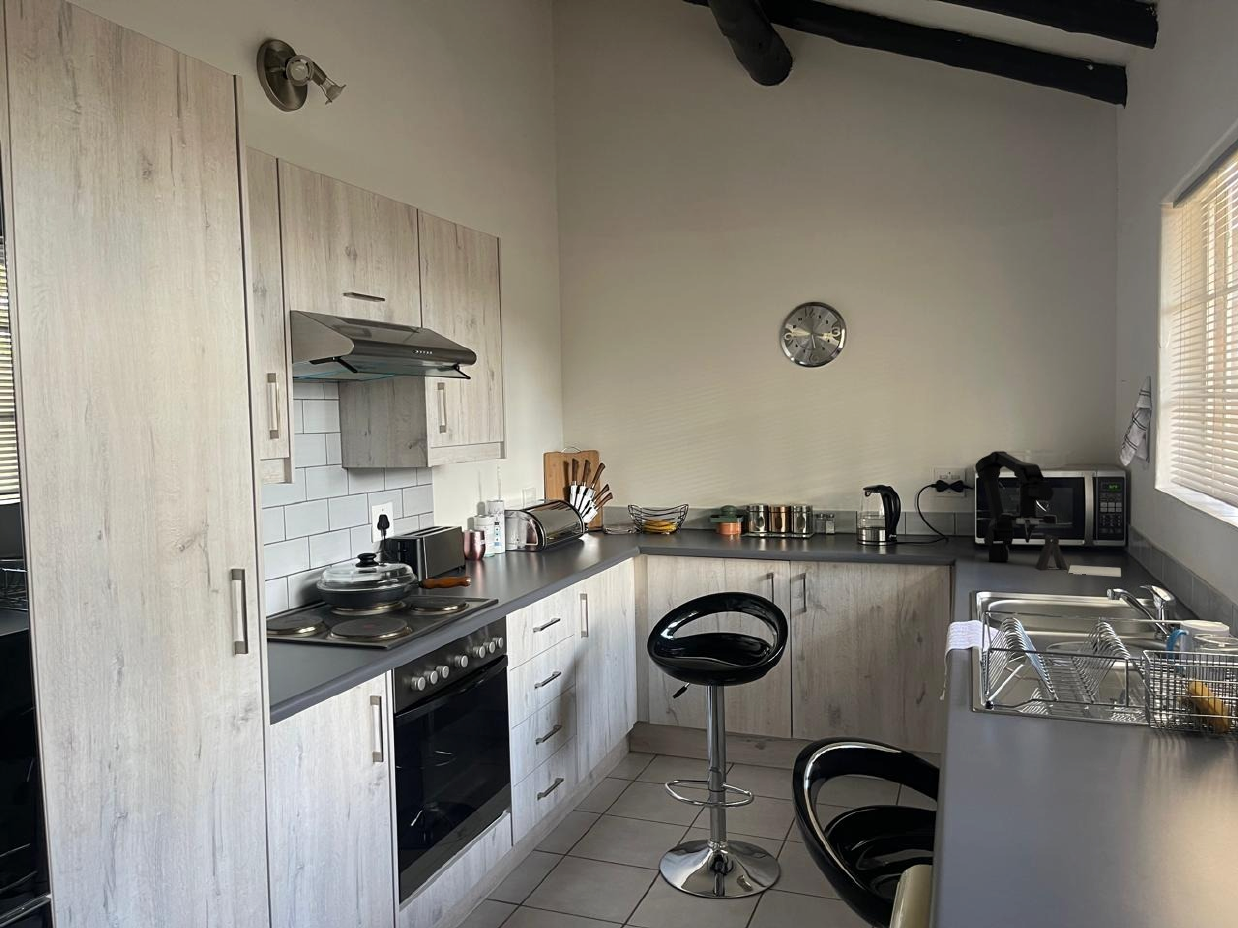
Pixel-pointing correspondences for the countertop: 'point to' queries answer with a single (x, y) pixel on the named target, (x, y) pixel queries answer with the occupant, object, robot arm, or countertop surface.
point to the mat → (1095, 570)
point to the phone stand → (1046, 553)
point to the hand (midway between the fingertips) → (1027, 542)
